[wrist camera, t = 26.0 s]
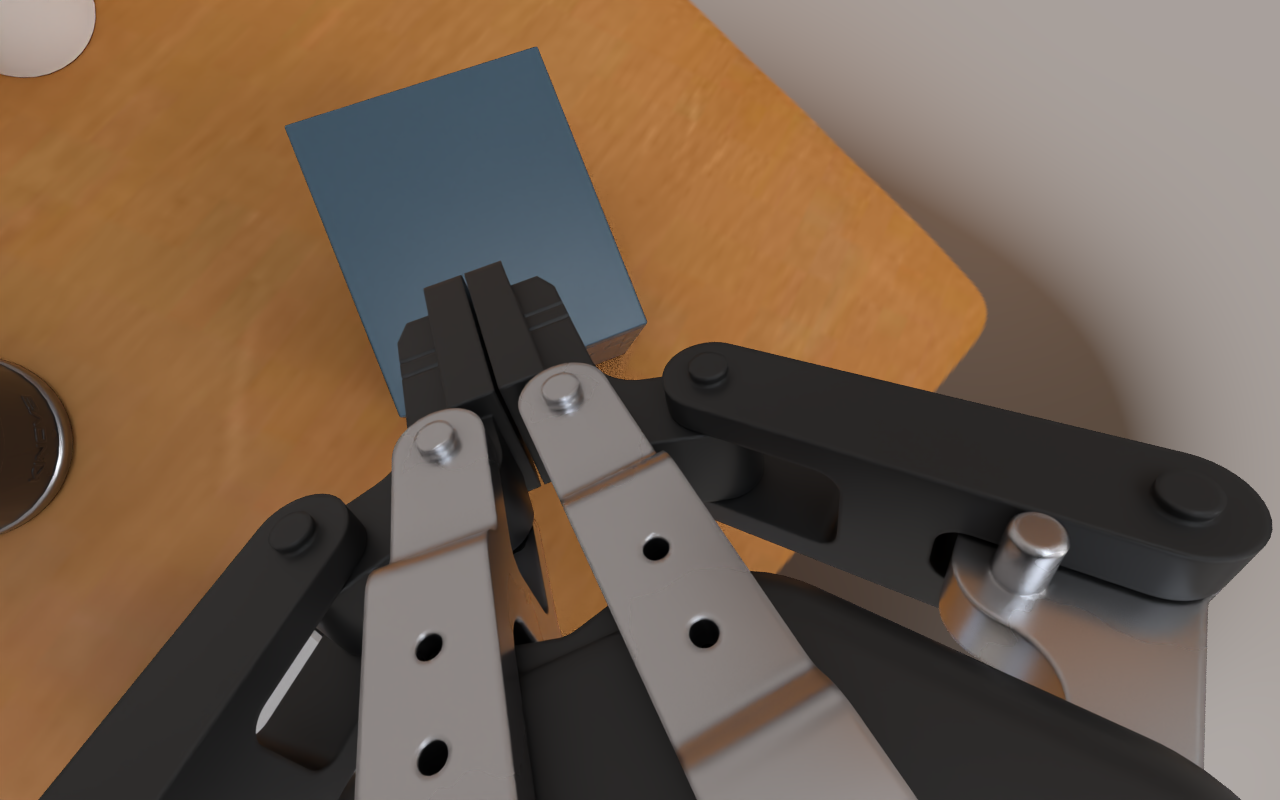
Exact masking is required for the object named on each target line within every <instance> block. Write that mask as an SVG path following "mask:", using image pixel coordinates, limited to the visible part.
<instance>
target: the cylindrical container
mask: <svg viewBox="0 0 1280 800" xmlns="http://www.w3.org/2000/svg"><path fill="white" fill-rule="evenodd" d="M95 18H96V17H95V4H94V1H93V0H0V74H3V75H7V76H14V77H37V76H41V75H46V74H50V73H52V72H55V71H57V70H59V69H61V68H63V67H65V66H66V65H68V64H69V63H71V62H72V61H74V60H75V59H76V58H77V57H78V56H79V55H80V54H81V53H82V52H83V50H84V48H85V47H86V45H87V44H88V42H89V40H90V38H91V35H92V33H93V30H94V24H95Z"/></svg>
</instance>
